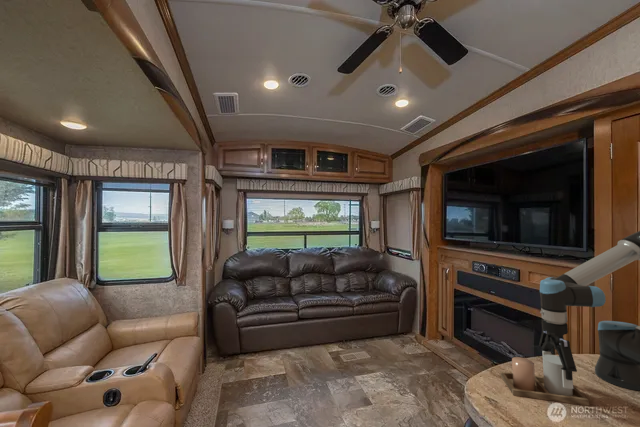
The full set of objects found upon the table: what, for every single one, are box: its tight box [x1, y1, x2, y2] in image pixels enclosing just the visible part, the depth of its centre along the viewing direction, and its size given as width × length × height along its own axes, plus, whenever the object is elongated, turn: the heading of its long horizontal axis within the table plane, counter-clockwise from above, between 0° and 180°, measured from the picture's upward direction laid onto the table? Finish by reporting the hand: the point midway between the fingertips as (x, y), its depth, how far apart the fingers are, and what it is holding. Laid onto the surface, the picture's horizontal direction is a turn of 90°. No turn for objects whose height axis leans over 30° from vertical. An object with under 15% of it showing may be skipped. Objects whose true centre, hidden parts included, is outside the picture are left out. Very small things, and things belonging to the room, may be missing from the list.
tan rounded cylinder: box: [511, 356, 536, 392], centre depth 105 cm, size 7×7×10 cm
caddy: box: [500, 371, 590, 407], centre depth 104 cm, size 23×13×2 cm, turn 74°
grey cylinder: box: [542, 354, 573, 397], centre depth 102 cm, size 8×8×12 cm
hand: (557, 377), depth 102 cm, fingers open, 13 cm apart
